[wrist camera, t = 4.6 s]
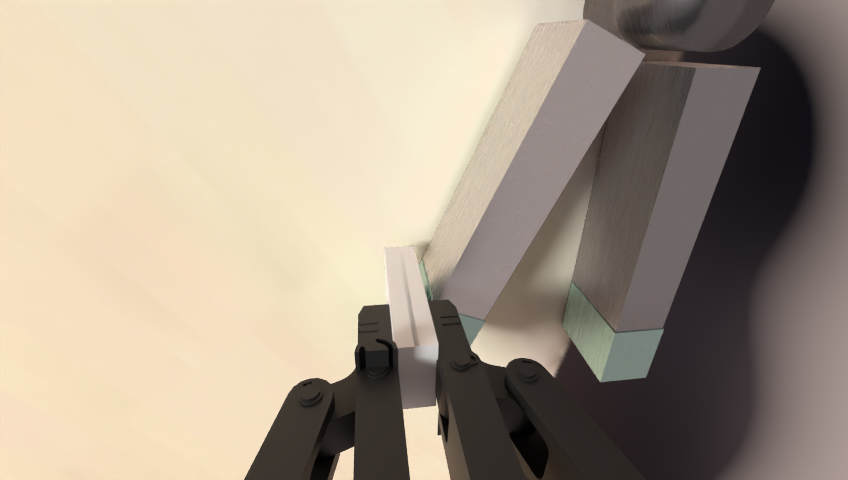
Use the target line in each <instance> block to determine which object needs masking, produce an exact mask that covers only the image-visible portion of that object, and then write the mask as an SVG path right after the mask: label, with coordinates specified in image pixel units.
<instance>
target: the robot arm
mask: <svg viewBox="0 0 848 480" xmlns="http://www.w3.org/2000/svg"><path fill="white" fill-rule="evenodd" d="M384 254H385V285H386V305H371V306H364V307H363V308H362V310H361V311H360V313H359V314H358V345H357V346H356V349H355V364H356V368H355V370H354V371H353V372H352V373H351V374H350V375H349V376H348V377H346V378H345V379H343V380H340V381H338V382H335V383H333V384H330V383H329V382H327V381H326V380H323V379H320V378H312V379H307V380H304V381H302V382H300V383H298V384H297V385H296V386H294V387H293V388H292V390H291V391H290V392H289V394H288V396H287V398H286V399H285V401H284V403H283V405H282V407H281V409H280V411H279V413H278V415H277V417H276V419H275V421H274V423H273V425H272V427H271V429H270V431H269V432H268V434H267V436H266V438H265V440H264V442H263V444H262V446H261V448H260V450H259V452H258V454H257V456H256V458H255V460H254V462H253V463H252V465H251V467H250V469H249V471H248V473H247V475H246V477H245V479H244V480H332V479H333V476H334V472H335V469H336V466H337V463H338V460H339V456H340V452H343V451H345V450H347V449H349V448H352V447H354V480H410V475H409V466H408V456H407V447H406V437H405V428H404V418H403V409H409V408H419V407H428V406H436V398H437V403H438V408H439V415H438V435H442V440H443V445H444V449H445V454H446V459H447V464H448V469H449V474H450V479H451V480H526V478H525V475H526V477H527V478H528V480H646V479H645V478H644V477H643V476H642V475H641V474H640V472H639V471H638V470H637V469H636V468H635V467H634V466H633V465H632V464H631V462H630V461H629V460H628V459H627V458H626V457H625V456H624V455H623V454H622V453H621V451H620V450H619V449H618V448H617V447H616V446H615V445H614V444H613V443H612V441H611V440H610V439H609V438H608V437H607V436H606V435H605V434H604V433H603V432H602V431H601V429H600V428H599V427H598V426H597V425H596V424H595V423H594V422H593V421H592V419H591V418H590V417H589V416H588V415H587V414H586V413H585V412H584V411H583V410H582V408H581V407H580V406H579V405H578V404H577V403H576V402H575V401H574V400H573V398H572V397H571V396H570V395H569V394H568V393H567V392H566V391H565V390H564V389H563V387H562V386H561V385H560V384H559V383H558V382H557V381H556V380H555V379H554V377H553V376H552V375H551V374H550V373H549V372H548V371H547V370H546V369H545V368H544V367H543V366H542V365H541V364H540V363H538V362H536V361H534V360H531V359H526V358H518V359H514V360H512V361H511V362H509V364H508V365H507V367H500V366H494V365H490V364H487V363H484V362H482V361H481V360H480V358H479V357H478V355H477V354H475V353H474V352H472V350H471V348H470V345H469V342H468V339H467V337H466V334H465V331H464V328H463V325H462V322H461V320H460V317H459V314H458V311H457V308H456V306H455V305H454V304H452V303H451V302H450V301H449V300H448V299H446V300H432V301H427V297H426V293H425V289H424V285H423V281H422V277H421V273H420V269H419V265H418V261H417V258H416V254H415V250H414V246H402V247H384ZM523 472H524V473H525V475H524V473H523Z"/></svg>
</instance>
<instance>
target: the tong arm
mask: <svg viewBox="0 0 848 480" xmlns="http://www.w3.org/2000/svg"><path fill="white" fill-rule="evenodd" d="M645 55H646V54H645V53H643V52H641V51H640V50H638V49H636V48H634V47H633V46H631V45H629V44H628V43H626V42H624V41H623V40H621V39H619V38H618V37H616V36H614V35H613V34H611V33H609V32H608V31H606V30H604V29H603V28H601V27H599V26H598V25H596V24H594V23H593V22H591V21H589V20H588V19H586V20H575V21H564V22H553V23H542V24H537V25H536V27H535V29H534V31H533V33H532V35H531V37H530V39H529V41H528V43H527V45H526V48H525V50H524V52H523V54H522V56H521V58H520V60H519V62H518V64H517V66H516V68H515V70H514V72H513V74H512V76H511V78H510V80H509V82H508V84H507V86H506V89H505V91H504V93H503V95H502V97H501V99H500V101H499V103H498V105H497V107H496V109H495V111H494V113H493V115H492V117H491V119H490V121H489V123H488V125H487V127H486V129H485V132H484V134H483V136H482V138H481V140H480V142H479V144H478V146H477V148H476V150H475V152H474V154H473V156H472V158H471V160H470V162H469V164H468V166H467V168H466V170H465V173H464V175H463V177H462V179H461V181H460V183H459V185H458V187H457V189H456V191H455V193H454V195H453V197H452V199H451V201H450V203H449V205H448V207H447V209H446V211H445V214H444V216H443V218H442V220H441V222H440V224H439V226H438V228H437V230H436V232H435V234H434V236H433V238H432V240H431V242H430V244H429V246H428V248H427V250H426V252H425V255H424V257H423V259H421V261H420V263H419V269H420V273H421V277H422V281H423V285H424V289H425V293H426V297H427V301H432V300H446V299H448V300H449V301H450V302H451V303H452V304H454V305H455V306H456V308H457V311H458V314H459V317H460V320H461V322H462V325H463V328H464V331H465V334H466V337H467V339H468V342H469V345H470V346H471V344H472V342H473V341H474V339H475V337H476V336H477V334H478V332H479V331H480V329H481V328H482V326H483V324H484V323H485V320H484V319H485V318H486V316H487V315H488V313H489V311H490V310H491V308H492V306H493V305H494V303H495V301H496V300H497V298H498V296H499V295H500V293H501V292H502V290H503V288H504V287H505V285H506V283H507V282H508V280H509V278H510V277H511V275H512V273H513V272H514V270H515V268H516V267H517V265H518V264H519V262H520V260H521V259H522V257H523V255H524V254H525V252H526V250H527V249H528V247H529V245H530V244H531V242H532V241H533V239H534V237H535V236H536V234H537V232H538V231H539V229H540V227H541V226H542V224H543V222H544V221H545V219H546V217H547V216H548V214H549V213H550V211H551V209H552V208H553V206H554V204H555V203H556V201H557V199H558V198H559V196H560V194H561V193H562V191H563V190H564V188H565V186H566V185H567V183H568V181H569V180H570V178H571V176H572V175H573V173H574V171H575V170H576V168H577V166H578V165H579V163H580V162H581V160H582V158H583V157H584V155H585V153H586V152H587V150H588V148H589V147H590V145H591V143H592V142H593V140H594V139H595V137H596V135H597V134H598V132H599V130H600V129H601V127H602V125H603V124H604V122H605V120H606V119H607V117H608V116H609V114H610V112H611V111H612V109H613V107H614V106H615V104H616V102H617V101H618V99H619V97H620V96H621V94H622V92H623V91H624V89H625V88H626V86H627V84H628V83H629V81H630V79H631V78H632V76H633V74H634V73H635V71H636V69H637V68H638V66H639V65H640V63H641V61H642V60H643V58H644V56H645Z"/></svg>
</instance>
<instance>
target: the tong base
mask: <svg viewBox="0 0 848 480" xmlns="http://www.w3.org/2000/svg"><path fill="white" fill-rule="evenodd" d="M773 3H774V0H585V5H584V12H583V19H584V20H586V19H588V20H589V21H591V22H593V23H594V24H596V25H598V26H599V27H601V28H603V29H604V30H606V31H608V32H609V33H611V34H613V35H614V36H616V37H618V38H619V39H621V40H623V41H624V42H626V43H628V44H629V45H631V46H633V47H634V48H636V49H644V50H671V51H698V52H699V51H700V52H717V51H722V50H725V49H728V48H731V47H733V46H735V45H737V44H738V43H740V42H741V41H743V40H744V39H745V38H746V37H748V36H749V35H750V34H751V33H752V32H753V31H754V30H755V29H756V28H757V27H758V26H759V25H760V23H761V22H762V21H763V19H764V18H765V17H766V15H767V13H768V12H769V10H770V8H771V6H772V5H773ZM759 71H760V68H758V67H745V66H730V65H716V64H703V63H690V62H676V61H641V63H640V65H639V66H638V68H637V69H636V71H635V73H634V74H633V76H632V78H631V79H630V81H629V83H628V84H627V86H626V88H625V89H624V91H623V92H622V94H621V96H620V97H619V99H618V101H617V102H616V104H615V106H614V107H613V109H612V111H611V112H610V114H609V116H608V121H607V125H606V130H605V134H604V139H603V143H602V148H601V152H600V157H599V161H598V166H597V170H596V175H595V179H594V184H593V189H592V193H591V198H590V202H589V207H588V211H587V216H586V220H585V225H584V229H583V234H582V238H581V243H580V247H579V252H578V257H577V261H576V266H575V270H574V275H573V279H572V282H571V287H570V291H569V296H568V301H567V305H566V310H565V314H564V319H563V323H562V326H563V328H564V329H565V331H566V332H567V334H568V335H569V337H570V338H571V339H572V341H573V342H574V344H575V345H576V347H577V348H578V350H579V351H580V353H581V354H582V356H583V357H584V359H585V360H586V362H587V363H588V365H589V366H590V368H591V369H592V370H593V372H594V374H595V375H596V377H597V378H598V380H599V381H600V382H606V381H616V380H627V379H637V378H646V376H647V373H648V370H649V367H650V365H651V363H652V360H653V357H654V355H655V352H656V349H657V347H658V344H659V341H660V339H661V336H662V333H663V331H664V329H663V326H664V323H665V321H666V318H667V315H668V312H669V310H670V307H671V304H672V302H673V299H674V296H675V294H676V291H677V289H678V286H679V283H680V280H681V278H682V275H683V273H684V270H685V267H686V265H687V262H688V259H689V257H690V254H691V251H692V249H693V246H694V244H695V241H696V238H697V236H698V233H699V230H700V228H701V225H702V222H703V220H704V217H705V214H706V212H707V209H708V206H709V204H710V201H711V198H712V196H713V193H714V190H715V188H716V185H717V182H718V180H719V177H720V174H721V172H722V169H723V167H724V164H725V161H726V159H727V156H728V153H729V151H730V148H731V145H732V142H733V140H734V137H735V135H736V132H737V129H738V127H739V124H740V121H741V119H742V116H743V113H744V111H745V108H746V105H747V103H748V100H749V97H750V95H751V92H752V90H753V87H754V84H755V81H756V79H757V76H758V74H759Z"/></svg>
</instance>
